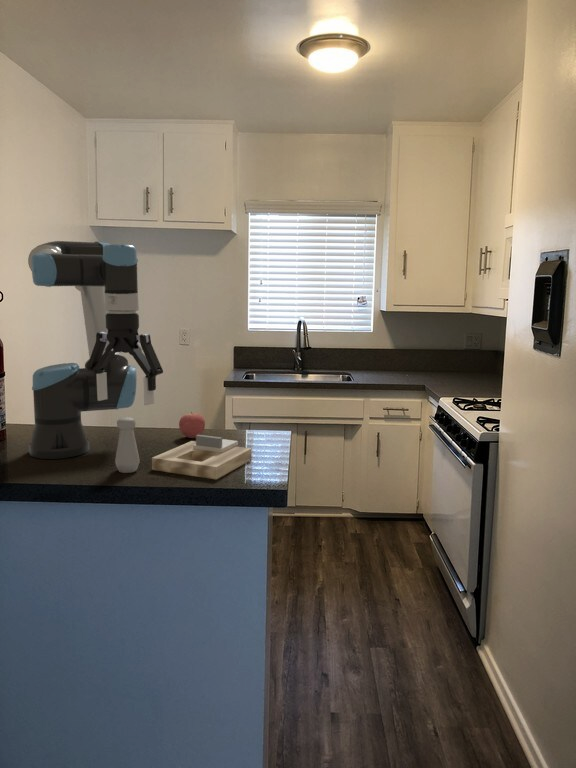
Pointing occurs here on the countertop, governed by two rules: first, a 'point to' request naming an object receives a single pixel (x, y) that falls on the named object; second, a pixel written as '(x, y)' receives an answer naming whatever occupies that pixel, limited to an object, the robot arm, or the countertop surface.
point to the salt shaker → (126, 446)
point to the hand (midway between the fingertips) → (125, 402)
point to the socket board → (200, 461)
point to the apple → (192, 425)
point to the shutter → (213, 443)
